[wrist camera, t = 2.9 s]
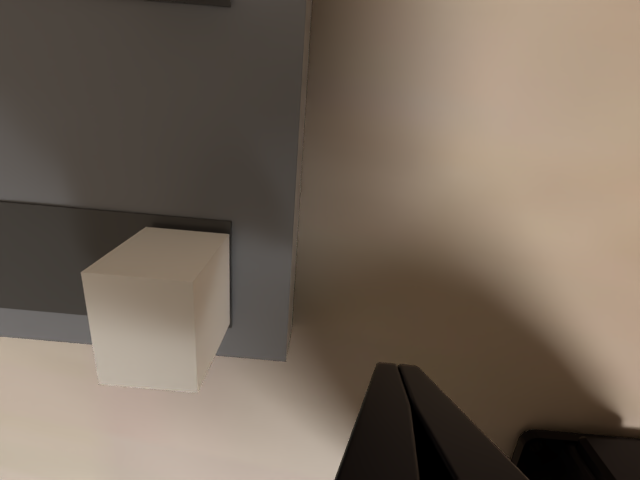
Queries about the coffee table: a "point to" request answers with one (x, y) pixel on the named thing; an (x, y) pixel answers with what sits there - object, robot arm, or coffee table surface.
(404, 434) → the robot arm
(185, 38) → the switch plate
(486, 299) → the coffee table surface
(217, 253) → the tab
